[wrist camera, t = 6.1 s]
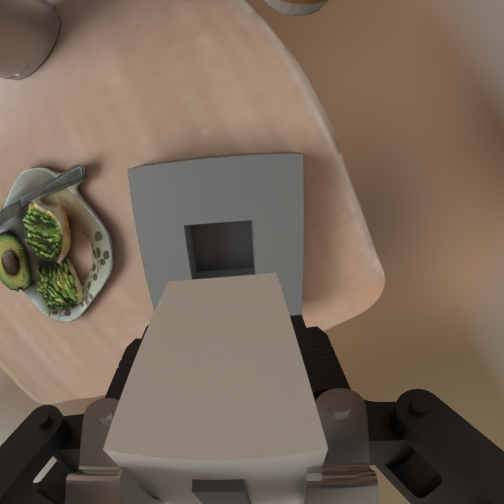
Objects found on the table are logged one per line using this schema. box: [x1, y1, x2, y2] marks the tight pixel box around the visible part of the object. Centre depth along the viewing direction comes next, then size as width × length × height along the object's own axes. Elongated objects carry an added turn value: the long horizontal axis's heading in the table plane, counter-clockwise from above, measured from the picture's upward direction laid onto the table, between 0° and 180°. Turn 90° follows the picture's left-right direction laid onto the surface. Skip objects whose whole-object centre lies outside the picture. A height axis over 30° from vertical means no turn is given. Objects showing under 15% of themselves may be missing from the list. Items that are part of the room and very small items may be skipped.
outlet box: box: [128, 152, 304, 316], centre depth 25 cm, size 16×14×4 cm
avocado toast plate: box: [0, 164, 114, 322], centre depth 23 cm, size 19×18×5 cm
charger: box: [103, 273, 328, 504], centre depth 7 cm, size 4×4×7 cm
